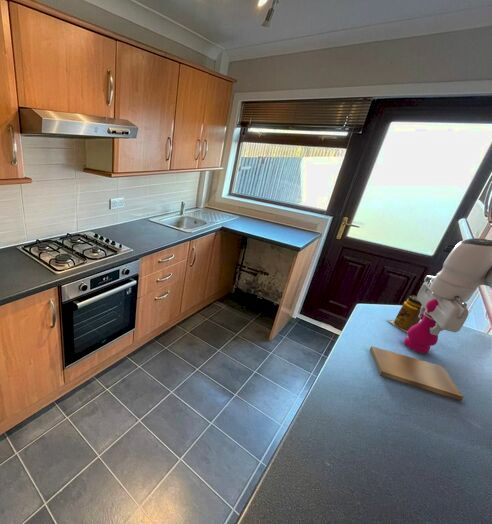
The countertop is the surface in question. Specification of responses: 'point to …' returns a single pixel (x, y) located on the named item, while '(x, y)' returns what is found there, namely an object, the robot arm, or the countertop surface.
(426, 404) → the countertop surface
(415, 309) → the condiment
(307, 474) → the countertop surface
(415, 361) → the chopping board
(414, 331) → the pepper mill
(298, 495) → the countertop surface
